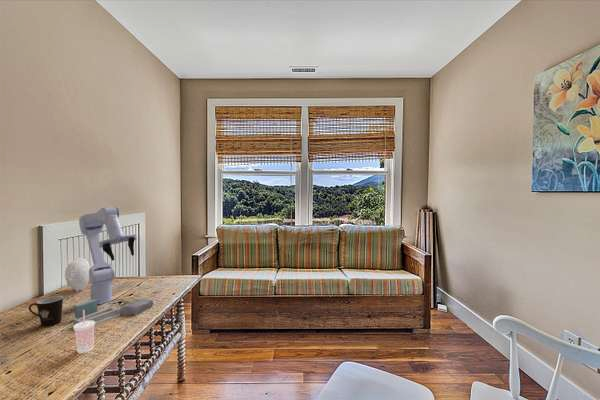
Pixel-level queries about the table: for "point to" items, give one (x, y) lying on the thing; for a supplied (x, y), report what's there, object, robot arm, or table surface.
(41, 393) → the table surface
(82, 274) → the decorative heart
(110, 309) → the rectangular tray
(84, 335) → the beverage cup
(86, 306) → the door panel
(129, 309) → the stone block
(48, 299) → the coffee mug
